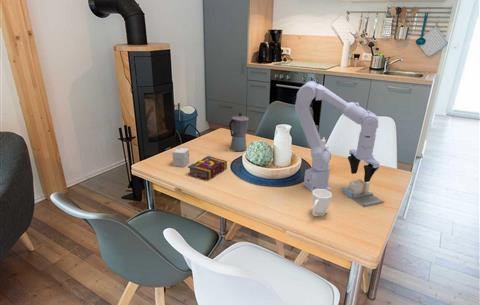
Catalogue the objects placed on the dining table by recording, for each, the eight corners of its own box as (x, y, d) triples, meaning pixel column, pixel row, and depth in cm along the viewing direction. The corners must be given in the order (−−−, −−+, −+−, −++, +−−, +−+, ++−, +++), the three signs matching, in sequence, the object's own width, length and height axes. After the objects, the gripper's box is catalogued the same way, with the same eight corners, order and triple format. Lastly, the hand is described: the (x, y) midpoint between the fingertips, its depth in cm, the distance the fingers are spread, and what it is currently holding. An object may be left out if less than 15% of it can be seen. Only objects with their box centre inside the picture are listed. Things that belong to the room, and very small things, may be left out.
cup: (332, 211, 118) (335, 192, 115) (322, 224, 110) (324, 203, 107) (314, 205, 121) (316, 186, 118) (303, 217, 114) (305, 197, 111)
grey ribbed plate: (362, 208, 120) (364, 201, 119) (341, 192, 131) (342, 185, 130) (384, 203, 123) (385, 196, 122) (361, 188, 134) (362, 182, 133)
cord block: (353, 196, 127) (355, 185, 125) (347, 192, 130) (349, 181, 128) (367, 193, 129) (369, 182, 127) (361, 189, 132) (363, 178, 130)
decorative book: (227, 169, 151) (227, 159, 149) (206, 182, 138) (206, 172, 136) (208, 164, 157) (207, 154, 155) (186, 176, 144) (185, 166, 142)
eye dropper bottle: (324, 162, 160) (327, 139, 155) (314, 159, 163) (316, 137, 158) (328, 160, 163) (331, 137, 158) (318, 157, 166) (320, 135, 162)
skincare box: (184, 167, 152) (183, 153, 149) (172, 166, 153) (171, 151, 150) (189, 162, 157) (189, 148, 154) (178, 161, 159) (177, 147, 156)
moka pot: (252, 147, 178) (254, 111, 171) (238, 155, 166) (238, 118, 159) (238, 143, 183) (238, 109, 176) (223, 151, 171) (222, 115, 164)
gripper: (388, 150, 117) (381, 183, 122) (361, 138, 130) (356, 168, 135) (372, 152, 115) (366, 186, 120) (346, 139, 127) (342, 170, 132)
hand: (360, 177), depth 127 cm, fingers open, 7 cm apart
